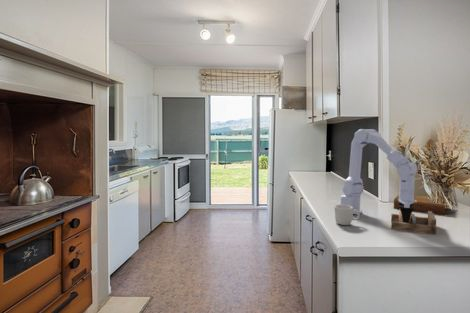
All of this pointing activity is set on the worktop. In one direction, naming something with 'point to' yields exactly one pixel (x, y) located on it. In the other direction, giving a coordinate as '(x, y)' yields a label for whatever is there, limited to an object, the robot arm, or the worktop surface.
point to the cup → (345, 214)
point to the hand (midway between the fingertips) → (405, 220)
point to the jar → (401, 217)
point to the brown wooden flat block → (423, 205)
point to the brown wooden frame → (426, 228)
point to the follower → (413, 219)
